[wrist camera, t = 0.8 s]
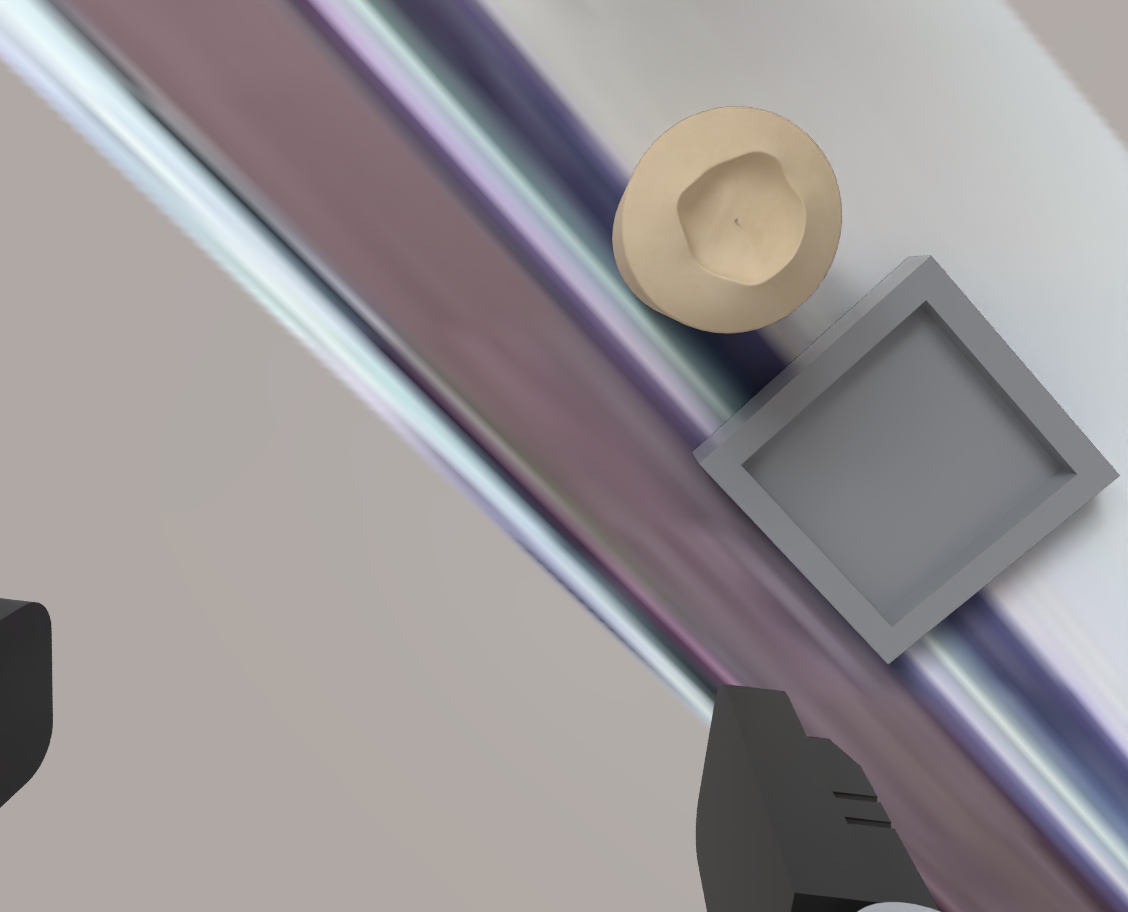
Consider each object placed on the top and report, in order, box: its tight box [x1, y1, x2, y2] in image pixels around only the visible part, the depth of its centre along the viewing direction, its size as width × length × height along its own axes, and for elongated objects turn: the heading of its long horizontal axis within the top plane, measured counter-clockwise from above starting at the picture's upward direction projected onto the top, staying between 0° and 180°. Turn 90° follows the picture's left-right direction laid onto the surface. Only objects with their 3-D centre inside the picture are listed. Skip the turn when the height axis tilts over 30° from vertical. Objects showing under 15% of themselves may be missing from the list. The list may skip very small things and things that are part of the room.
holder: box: [692, 255, 1120, 664], centre depth 31 cm, size 10×10×2 cm
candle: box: [612, 106, 842, 333], centre depth 25 cm, size 6×6×10 cm
